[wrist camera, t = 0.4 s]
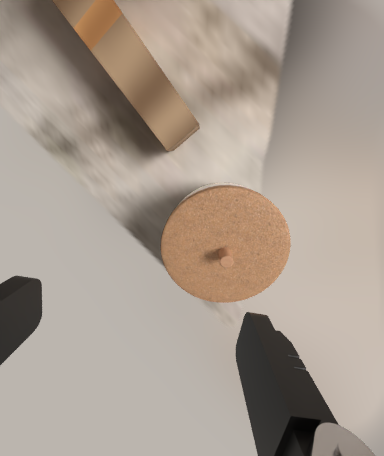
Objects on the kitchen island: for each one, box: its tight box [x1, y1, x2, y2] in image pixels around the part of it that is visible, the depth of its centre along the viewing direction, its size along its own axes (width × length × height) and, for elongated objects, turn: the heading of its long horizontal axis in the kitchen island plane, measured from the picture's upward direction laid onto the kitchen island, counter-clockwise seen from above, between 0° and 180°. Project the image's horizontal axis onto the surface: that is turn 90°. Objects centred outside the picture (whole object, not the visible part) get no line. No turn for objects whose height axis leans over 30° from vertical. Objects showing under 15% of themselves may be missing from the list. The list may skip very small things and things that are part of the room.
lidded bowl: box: [161, 183, 290, 302], centre depth 24 cm, size 13×13×11 cm
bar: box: [52, 0, 200, 151], centre depth 20 cm, size 18×4×5 cm, turn 38°
